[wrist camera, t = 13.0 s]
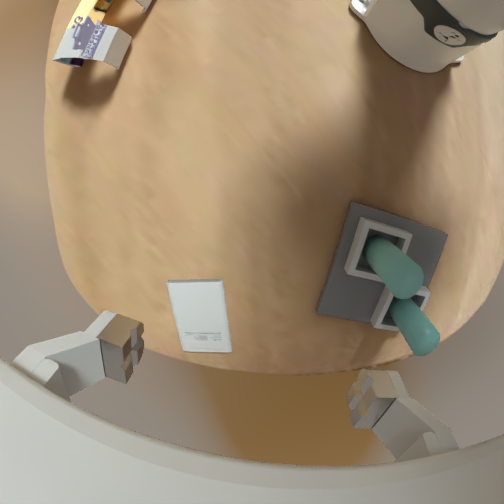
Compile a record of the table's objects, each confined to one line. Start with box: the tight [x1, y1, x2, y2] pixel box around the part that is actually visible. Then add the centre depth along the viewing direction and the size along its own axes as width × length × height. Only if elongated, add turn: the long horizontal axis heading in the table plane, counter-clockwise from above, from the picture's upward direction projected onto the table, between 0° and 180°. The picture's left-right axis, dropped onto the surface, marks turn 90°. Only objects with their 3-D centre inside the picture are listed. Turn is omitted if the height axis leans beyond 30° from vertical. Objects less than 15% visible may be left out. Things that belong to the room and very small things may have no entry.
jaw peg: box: [362, 235, 424, 299], centre depth 29 cm, size 4×4×10 cm
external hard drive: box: [166, 279, 232, 353], centre depth 41 cm, size 2×8×12 cm
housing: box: [316, 201, 448, 356], centre depth 31 cm, size 16×16×11 cm
